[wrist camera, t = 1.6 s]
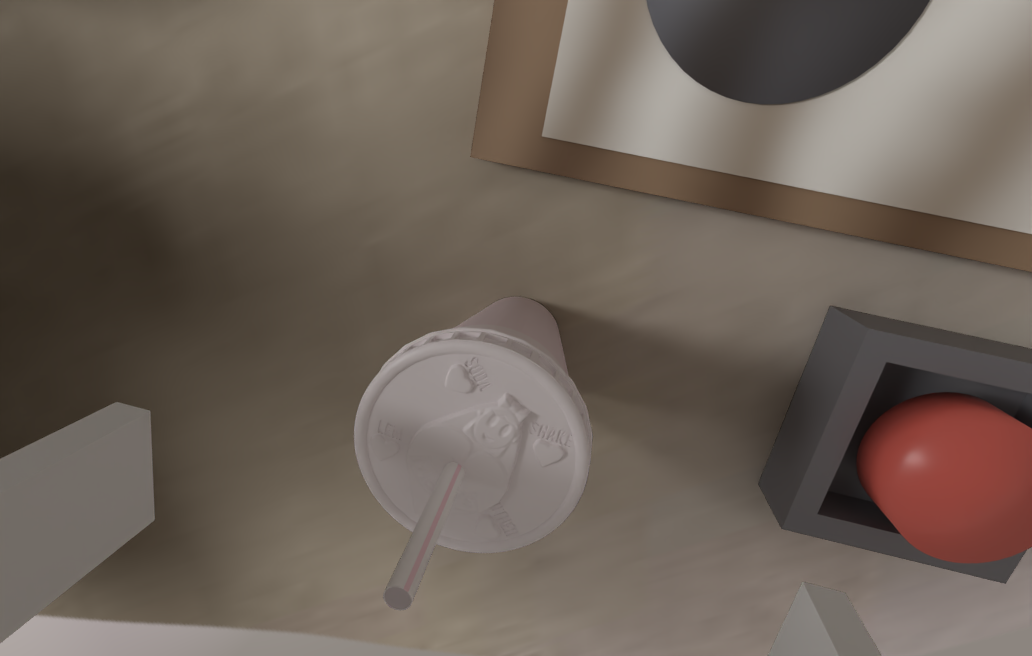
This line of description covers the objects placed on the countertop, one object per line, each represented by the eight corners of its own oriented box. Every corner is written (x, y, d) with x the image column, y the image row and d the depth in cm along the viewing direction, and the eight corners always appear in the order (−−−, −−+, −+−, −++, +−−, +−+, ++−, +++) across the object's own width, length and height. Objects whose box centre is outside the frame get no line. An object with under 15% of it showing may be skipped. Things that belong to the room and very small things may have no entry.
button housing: (758, 484, 23) (781, 528, 20) (830, 305, 21) (868, 328, 18) (953, 531, 23) (1005, 583, 20) (1053, 353, 20) (1130, 385, 17)
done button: (834, 498, 20) (865, 541, 18) (890, 377, 18) (932, 407, 16) (974, 532, 20) (1023, 580, 17) (1044, 411, 18) (1109, 446, 16)
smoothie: (417, 342, 23) (192, 575, 10) (506, 232, 21) (371, 344, 8) (526, 431, 24) (447, 760, 11) (623, 332, 22) (673, 588, 9)
